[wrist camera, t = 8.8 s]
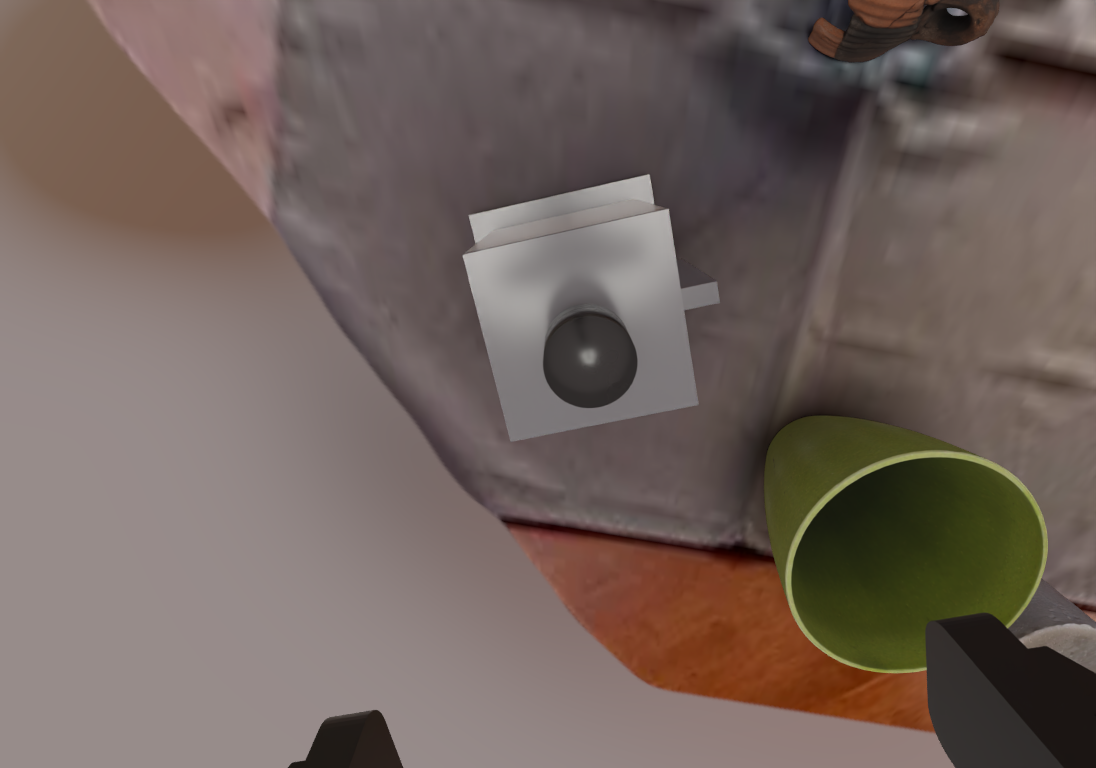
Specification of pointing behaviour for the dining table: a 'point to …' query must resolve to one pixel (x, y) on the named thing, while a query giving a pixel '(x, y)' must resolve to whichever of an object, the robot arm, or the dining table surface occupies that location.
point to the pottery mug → (902, 26)
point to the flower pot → (894, 537)
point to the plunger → (589, 356)
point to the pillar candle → (1057, 626)
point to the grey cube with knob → (584, 298)
